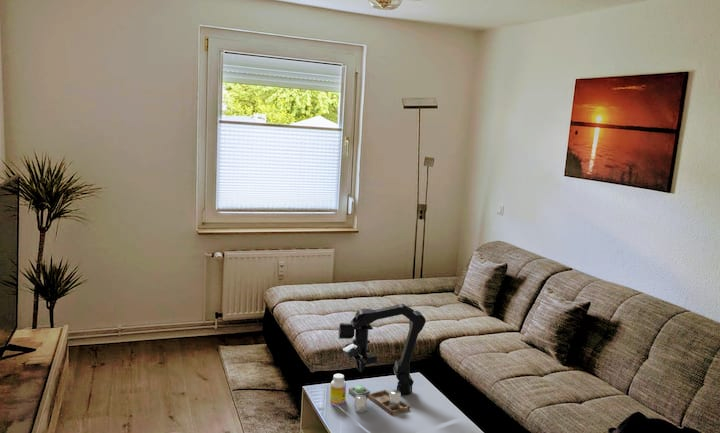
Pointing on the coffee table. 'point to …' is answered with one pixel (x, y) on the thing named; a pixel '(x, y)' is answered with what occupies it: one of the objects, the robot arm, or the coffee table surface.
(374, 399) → the wooden tray
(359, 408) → the cylinder
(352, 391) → the grey square tray
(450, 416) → the coffee table surface
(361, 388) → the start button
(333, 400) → the supplement bottle
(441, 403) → the coffee table surface
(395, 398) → the cylinder
